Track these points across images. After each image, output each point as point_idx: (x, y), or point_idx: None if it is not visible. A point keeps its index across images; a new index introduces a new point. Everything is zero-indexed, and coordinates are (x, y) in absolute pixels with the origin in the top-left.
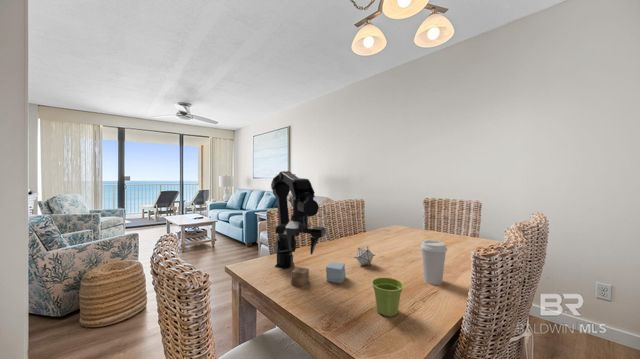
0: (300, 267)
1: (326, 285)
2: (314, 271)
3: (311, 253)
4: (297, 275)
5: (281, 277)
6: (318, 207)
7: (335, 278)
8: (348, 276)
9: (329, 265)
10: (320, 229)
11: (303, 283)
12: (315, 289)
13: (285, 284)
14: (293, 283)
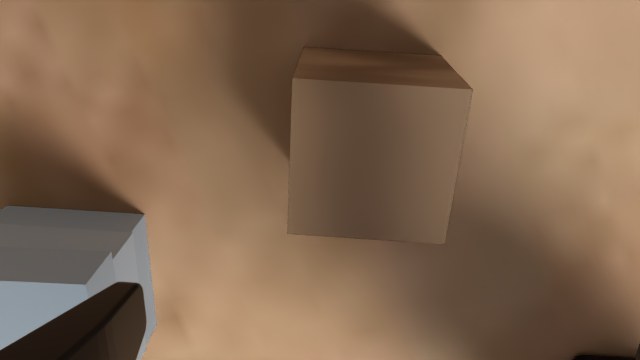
0: (395, 240)
1: (108, 132)
2: (316, 354)
3: (111, 289)
4: (377, 74)
5: (587, 177)
6: None
7: (42, 226)
8: None
9: None
10: None
11: (302, 53)
12: (168, 22)
13: (502, 40)
14: (418, 57)
